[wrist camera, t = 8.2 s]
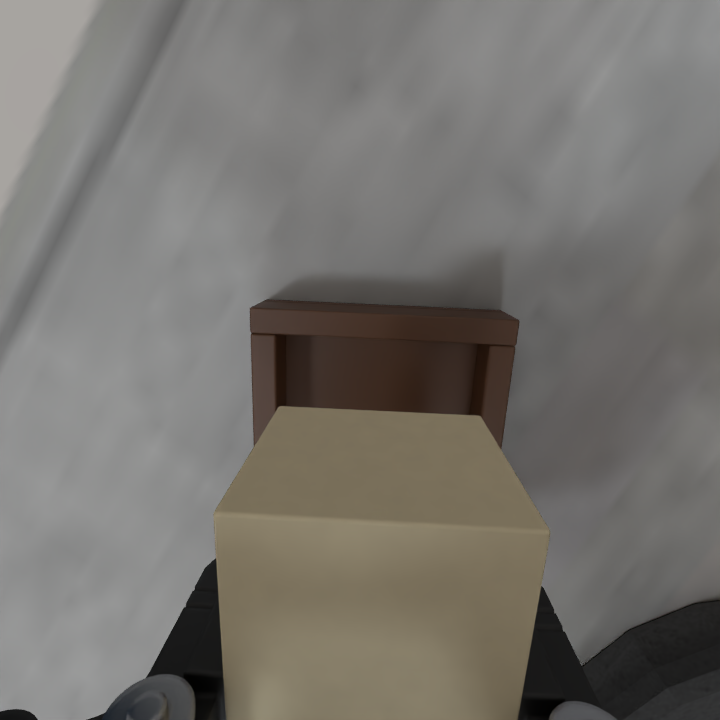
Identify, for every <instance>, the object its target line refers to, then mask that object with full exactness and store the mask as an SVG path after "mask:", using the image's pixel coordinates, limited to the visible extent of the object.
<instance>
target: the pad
mask: <svg viewBox="0 0 720 720" xmlns="http://www.w3.org/2000/svg"><path fill="white" fill-rule="evenodd" d="M214 531H215V547H216V563H217V580H218V596H219V613H220V629H221V646H222V662H223V678H224V695H225V711H226V720H518V715H519V710H520V704H521V698H522V693H523V687H524V681H525V675H526V670H527V664H528V658H529V653H530V647H531V641H532V636H533V630H534V624H535V618H536V613H537V607H538V601H539V596H540V590H541V584H542V579H543V573H544V567H545V561H546V556H547V550H548V544H549V539H550V530H549V528H548V527H547V525H546V523H545V522H544V520H543V518H542V517H541V515H540V513H539V512H538V510H537V508H536V507H535V505H534V504H533V502H532V500H531V499H530V497H529V495H528V494H527V492H526V490H525V489H524V487H523V485H522V484H521V482H520V480H519V479H518V477H517V475H516V474H515V472H514V470H513V469H512V467H511V466H510V464H509V462H508V461H507V459H506V457H505V456H504V454H503V452H502V451H501V449H500V447H499V446H498V444H497V442H496V441H495V439H494V437H493V436H492V434H491V433H490V431H489V429H488V428H487V426H486V424H485V423H484V421H483V419H482V418H481V416H476V415H455V414H434V413H413V412H392V411H371V410H351V409H330V408H309V407H288V406H280V407H278V409H277V410H276V412H275V414H274V415H273V417H272V419H271V420H270V422H269V423H268V425H267V427H266V428H265V430H264V432H263V433H262V435H261V436H260V438H259V440H258V441H257V443H256V445H255V446H254V448H253V449H252V451H251V453H250V454H249V456H248V458H247V459H246V461H245V463H244V464H243V466H242V467H241V469H240V471H239V472H238V474H237V476H236V477H235V479H234V480H233V482H232V484H231V485H230V487H229V489H228V490H227V492H226V494H225V495H224V497H223V498H222V500H221V502H220V503H219V505H218V507H217V508H216V510H215V512H214Z"/></svg>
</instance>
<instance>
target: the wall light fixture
mask: <svg viewBox="0 0 720 720" xmlns="http://www.w3.org/2000/svg"><path fill="white" fill-rule="evenodd" d="M582 668H583V671H584V673H585V675H586V677H587V679H588V681H589V683H590V685H591V687H592V689H593V691H594V693H595V695H596V697H597V699H598V701H599V703H600V705H601V707H602V709H603V710H604V711H606V712H608V713H609V714H611V715H612V716H613V717H615V718H616V719H617V720H720V601H716V602H708V603H700V604H694V605H691V606H689V607H686V608H684V609H681V610H679V611H676V612H674V613H671V614H669V615H666V616H664V617H662V618H659V619H657V620H654V621H652V622H649V623H647V624H644V625H642V626H639V627H637V628H634V629H632V630H629V631H628V632H627V633H625V634H624V635H623V636H622V637H620V638H619V639H618V640H617V641H615V642H614V643H613V644H611V645H610V646H609V647H608V648H606V649H605V650H604V651H602V652H601V653H600V654H599V655H597V656H596V657H595V658H594V659H592V660H591V661H590V662H588V663H587V664H586V665H585V666H583V667H582Z"/></svg>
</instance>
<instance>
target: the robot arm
mask: <svg viewBox="0 0 720 720" xmlns="http://www.w3.org/2000/svg"><path fill="white" fill-rule="evenodd" d="M0 720H38V719H37V718H36V717H35V715H33V714H32V713H30V712H28V711H25V710H19V709H13V710H6V711H1V712H0ZM88 720H226V711H225V695H224V678H223V662H222V646H221V629H220V613H219V596H218V580H217V563H216V559H215V560H213V561H212V562H211V563H210V564H209V565H208V566H207V567H206V568H205V569H204V571H203V573H202V575H201V577H200V579H199V580H198V582H197V584H196V586H195V590H194V591H193V592H192V594H191V595H190V597H189V599H188V601H187V603H186V607H184V609H183V610H182V612H181V614H180V616H179V618H178V620H177V622H176V624H175V625H174V627H173V629H172V631H171V633H170V635H169V637H168V639H167V641H166V642H165V644H164V646H163V648H162V650H161V652H160V654H159V656H158V657H157V659H156V661H155V663H154V665H153V667H152V669H151V671H150V672H149V674H148V676H147V677H146V678H145V679H143V680H141V681H139V682H137V683H135V684H133V685H132V686H130V687H129V688H128V689H126V690H125V691H124V692H123V693H122V694H120V695H119V696H118V697H117V698H116V699H115V701H114V702H113V703H112V704H111V705H110V707H109V708H108V710H107V711H106V712H105V713H104V714H101V715H99V716H97V717H94V718H91V719H88ZM518 720H617V719H616V718H615V717H613V716H612V715H611V714H609V713H608V712H606V711H604V710H603V709H602V707H601V705H600V703H599V701H598V699H597V697H596V695H595V693H594V691H593V689H592V687H591V685H590V683H589V681H588V679H587V677H586V675H585V673H584V671H583V668H582V666H581V664H580V662H579V660H578V658H577V656H576V654H575V652H574V650H573V648H572V646H571V644H570V642H569V640H568V638H567V636H566V633H565V632H563V630H562V625H561V623H560V621H559V619H558V617H557V615H556V614H554V609H553V607H552V605H551V603H550V600H549V598H548V596H547V594H546V592H545V590H544V588H543V587H542V586H541V590H540V596H539V601H538V607H537V613H536V618H535V624H534V630H533V636H532V641H531V647H530V653H529V658H528V664H527V670H526V675H525V681H524V687H523V693H522V698H521V704H520V710H519V715H518Z"/></svg>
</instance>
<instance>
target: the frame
mask: <svg viewBox="0 0 720 720" xmlns="http://www.w3.org/2000/svg"><path fill="white" fill-rule="evenodd" d="M518 328H519V320H518V319H516V318H514V317H512V316H510V315H508V314H507V313H505V312H503V311H501V310H486V309H464V308H443V307H421V306H399V305H377V304H355V303H333V302H312V301H290V300H268V299H267V300H265V301H263V302H261V303H259V304H257V305H255V306H253V307H251V308H250V331H251V333H252V334H251V361H252V397H253V432H254V446H255V445H256V443H257V441H258V440H259V438H260V436H261V435H262V433H263V432H264V430H265V428H266V427H267V425H268V423H269V422H270V420H271V419H272V417H273V415H274V414H275V412H276V410H277V409H278V407H280V406H288V407H309V408H330V409H351V410H371V411H392V412H413V413H434V414H455V415H476V416H481V418H482V419H483V421H484V423H485V424H486V426H487V428H488V429H489V431H490V433H491V434H492V436H493V437H494V439H495V441H496V442H497V444H498V446H499V447H500V449H501V447H502V440H503V433H504V425H505V418H506V411H507V404H508V397H509V389H510V382H511V375H512V368H513V361H514V354H515V345H516V342H517V335H518Z"/></svg>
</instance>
